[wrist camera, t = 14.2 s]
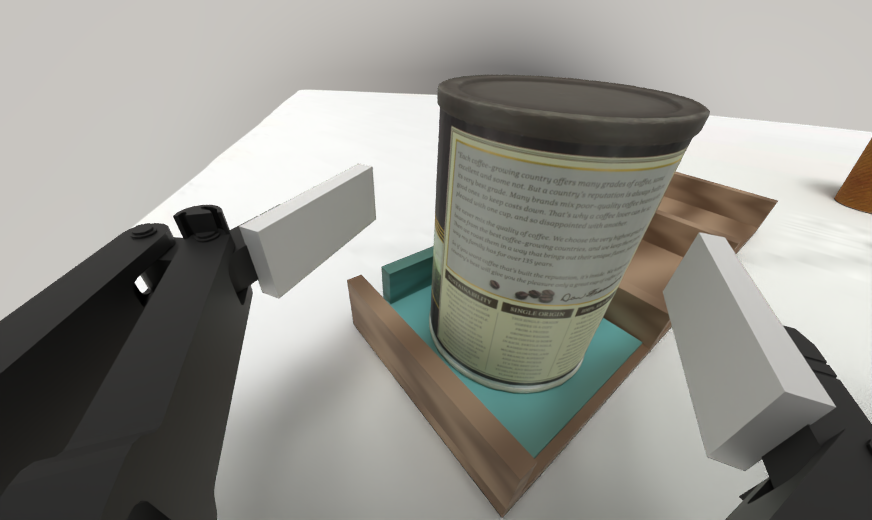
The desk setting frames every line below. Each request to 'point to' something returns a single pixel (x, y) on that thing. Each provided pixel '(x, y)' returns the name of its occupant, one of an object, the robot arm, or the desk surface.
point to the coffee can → (542, 215)
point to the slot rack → (603, 361)
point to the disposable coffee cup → (858, 184)
